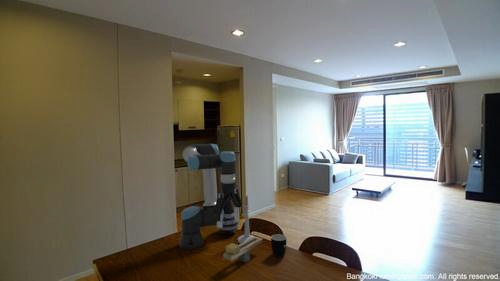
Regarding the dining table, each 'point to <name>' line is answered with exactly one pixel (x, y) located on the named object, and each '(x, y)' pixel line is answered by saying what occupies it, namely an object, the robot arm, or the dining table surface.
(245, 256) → the beam
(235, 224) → the vase
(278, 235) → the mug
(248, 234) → the candlestick
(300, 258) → the dining table surface
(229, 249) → the rider
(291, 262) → the dining table surface
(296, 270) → the dining table surface
